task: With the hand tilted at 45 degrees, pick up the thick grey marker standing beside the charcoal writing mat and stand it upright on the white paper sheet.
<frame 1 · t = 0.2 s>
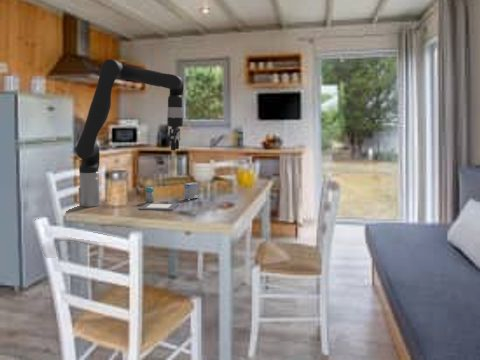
hand: (174, 149, 228), 29 cm above the table, tool pointing down, fingers open, 8 cm apart
writing mat: (159, 207, 231), on the table
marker: (149, 202, 244), on the table
medicine box: (191, 199, 255), on the table
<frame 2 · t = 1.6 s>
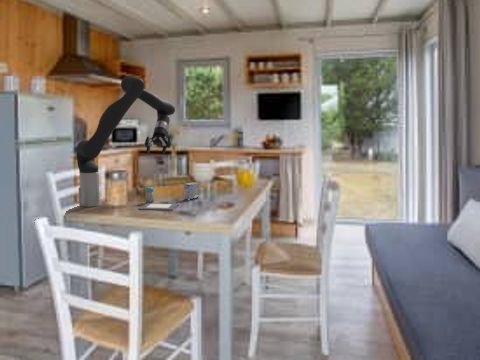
hand: (155, 152, 252), 26 cm above the table, tool tilted 45°, fingers open, 8 cm apart
nothing on the table moved.
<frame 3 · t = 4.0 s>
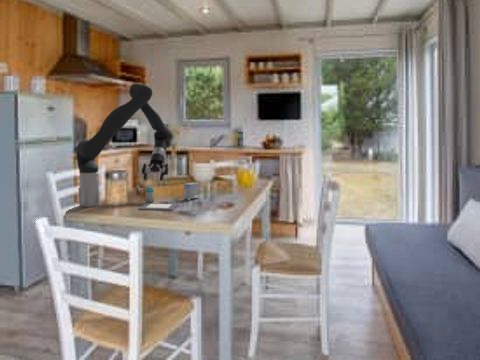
hand: (152, 179, 249), 11 cm above the table, tool tilted 45°, fingers open, 8 cm apart
nothing on the table moved.
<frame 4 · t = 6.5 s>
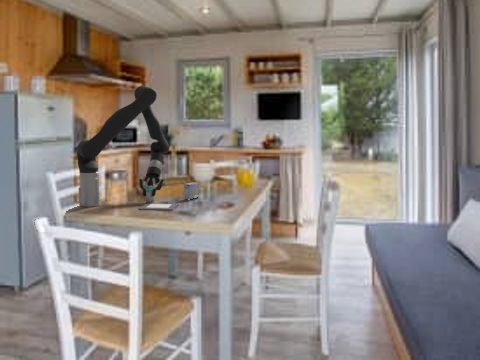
hand: (148, 195, 241), 4 cm above the table, tool tilted 45°, fingers closed on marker, 4 cm apart
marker: (149, 202, 244), on the table, touching gripper
everything else where it was.
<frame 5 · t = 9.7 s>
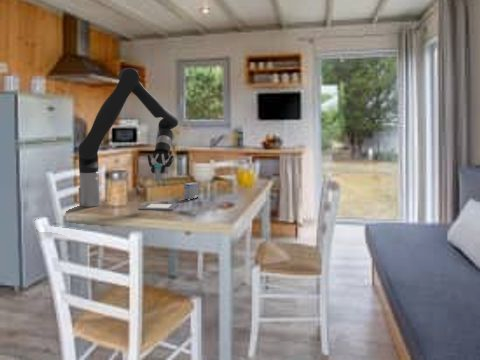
hand: (157, 172, 227), 18 cm above the table, tool tilted 45°, fingers closed on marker, 4 cm apart
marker: (158, 179, 230), point 14 cm above the table, touching gripper
everything else where it was.
when the fingers open (6 cm above the table, at t = 12.9 s): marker drops 1 cm, resting on writing mat.
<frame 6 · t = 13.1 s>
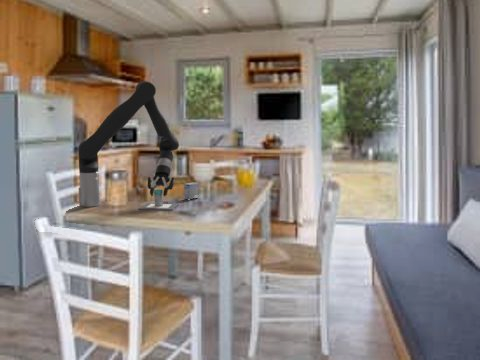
hand: (158, 195, 229), 7 cm above the table, tool tilted 45°, fingers open, 6 cm apart
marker: (158, 205, 231), point 1 cm above the table, touching writing mat
everything else where it was.
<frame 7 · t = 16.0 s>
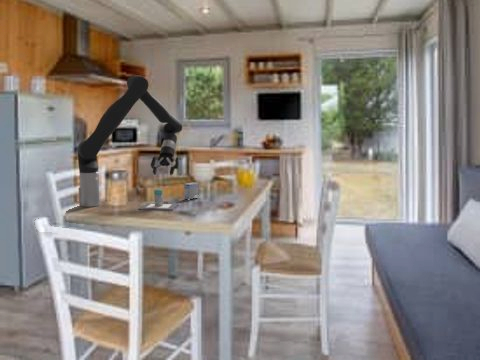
hand: (162, 174, 236), 16 cm above the table, tool tilted 45°, fingers open, 8 cm apart
nothing on the table moved.
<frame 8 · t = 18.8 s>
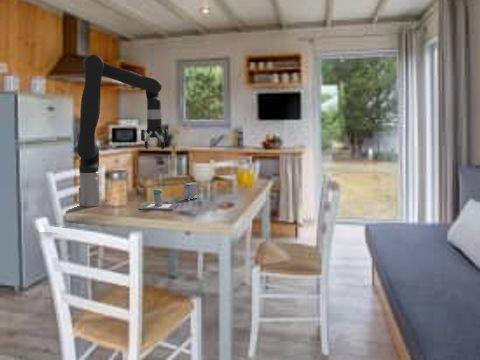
hand: (154, 149, 245), 28 cm above the table, tool pointing down, fingers open, 8 cm apart
nothing on the table moved.
at the end: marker inside the target area on the writing mat (0.3 cm from its centre), point 0.9 cm above the writing mat's base; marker tilted 4°; the gripper is holding nothing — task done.
